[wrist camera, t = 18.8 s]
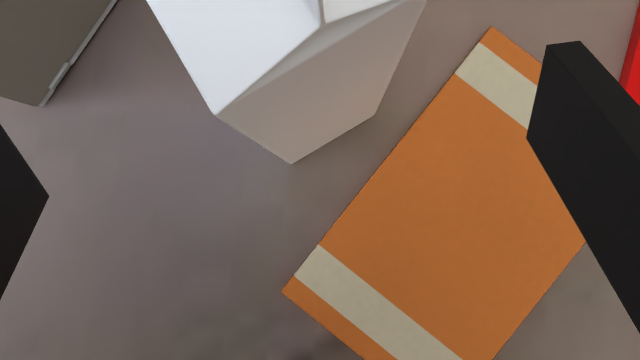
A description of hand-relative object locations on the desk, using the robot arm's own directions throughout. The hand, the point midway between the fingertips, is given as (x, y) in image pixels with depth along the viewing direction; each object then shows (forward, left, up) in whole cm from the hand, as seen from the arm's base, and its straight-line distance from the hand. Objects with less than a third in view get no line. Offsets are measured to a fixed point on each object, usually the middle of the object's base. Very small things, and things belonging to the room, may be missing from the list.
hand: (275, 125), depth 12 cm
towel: (+9, +3, -18) cm, 20 cm away
